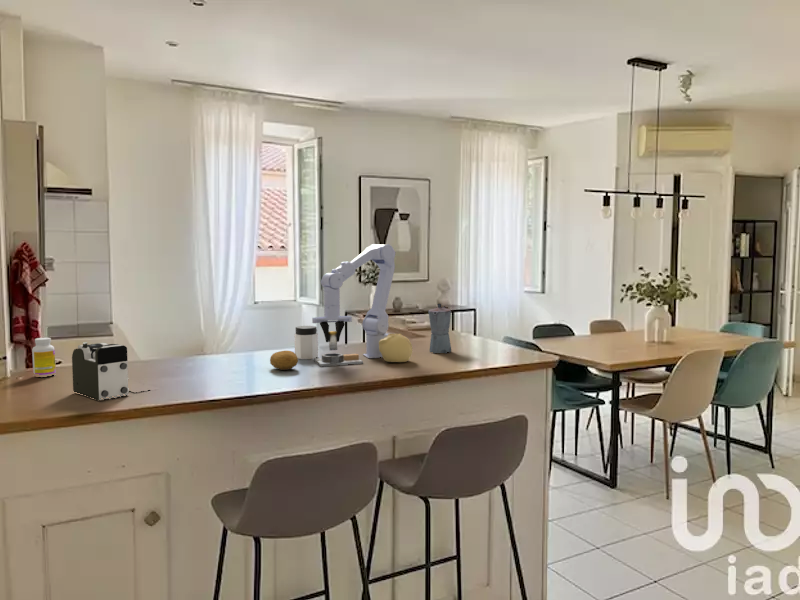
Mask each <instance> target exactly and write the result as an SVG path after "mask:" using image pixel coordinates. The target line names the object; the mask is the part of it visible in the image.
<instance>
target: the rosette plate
mask: <svg viewBox="0 0 800 600" xmlns="http://www.w3.org/2000/svg"><path fill="white" fill-rule="evenodd" d="M359 357H360V356H359V354H358V353H350V354H343V353H339V352H337V353H336V352H327V353H323V354H321V357H317V358H313V359H312V360H313V362H314V363H315V364H316V363H317V365H318V366H319V367H320V368H323V367H322V366H325V367H336V366H335V365H340V366H349V365H348V364H354V365H363V364H364V361H363V360H361V359H360V358H359Z"/></svg>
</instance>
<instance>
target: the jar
mask: <svg viewBox="0 0 800 600" xmlns="http://www.w3.org/2000/svg"><path fill="white" fill-rule="evenodd" d="M317 328H318V327H317V326H315V325H299V326H295V333H294V353H295V354H296V356H297V358H298V360H313V358H316V357H317V358H319V342H318V341H319V333H317V331H318V330H317Z"/></svg>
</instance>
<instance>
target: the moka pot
mask: <svg viewBox="0 0 800 600" xmlns="http://www.w3.org/2000/svg"><path fill="white" fill-rule="evenodd" d="M451 313H452V311H451V309H450V308H447V307H446V305H444V306H442V303H437V307H434V308H431V309H428V320H429V326H430V327H429V328H430V331H431V332H430V333H431V335H430V341H429V342H430V343H429V352H430V353H431V352H433V353H432V354H435V353H445V354H448V353H447V352H449V353H451V352H452V345H451V344H452V343H451V339H450V334H449V332H450V331H449V329H450V324H451V315H452V314H451Z"/></svg>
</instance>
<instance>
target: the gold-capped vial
mask: <svg viewBox="0 0 800 600" xmlns="http://www.w3.org/2000/svg"><path fill="white" fill-rule="evenodd" d="M328 348H329V349H328V350H329V351H337V350H338V342H337V331H336V330H333V331H331V330H330V331H329V342H328Z"/></svg>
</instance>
